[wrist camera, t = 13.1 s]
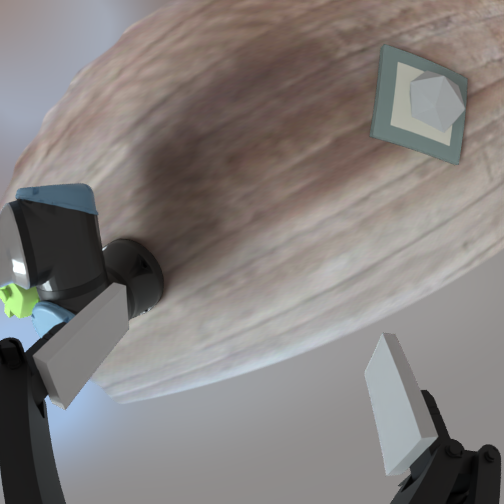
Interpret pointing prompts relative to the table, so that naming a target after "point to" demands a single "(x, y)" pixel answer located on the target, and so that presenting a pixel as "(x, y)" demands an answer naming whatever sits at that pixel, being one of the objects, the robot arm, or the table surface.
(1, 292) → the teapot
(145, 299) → the robot arm
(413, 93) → the die
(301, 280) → the table surface
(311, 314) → the table surface
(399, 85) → the base board
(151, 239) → the table surface
